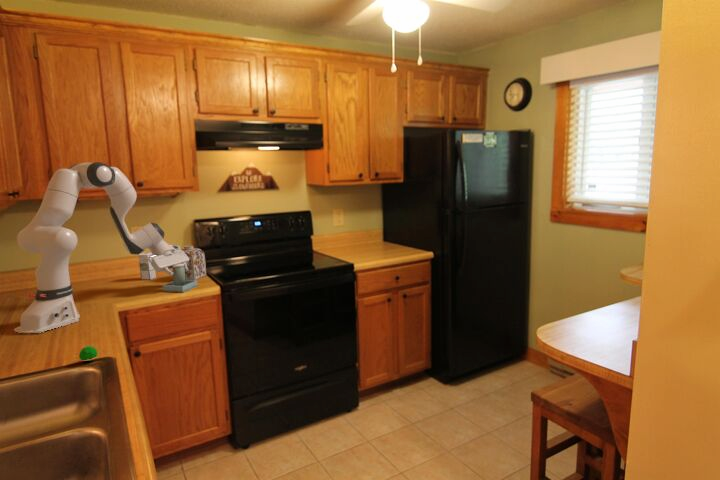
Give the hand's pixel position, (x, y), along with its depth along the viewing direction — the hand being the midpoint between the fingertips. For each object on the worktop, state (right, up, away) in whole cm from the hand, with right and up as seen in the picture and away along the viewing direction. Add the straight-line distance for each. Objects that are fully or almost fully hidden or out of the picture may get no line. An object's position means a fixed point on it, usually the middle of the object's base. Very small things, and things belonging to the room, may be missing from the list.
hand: (179, 272), depth 225 cm
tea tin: (0, -7, +1) cm, 7 cm away
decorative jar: (-3, -5, +24) cm, 25 cm away
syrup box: (-28, -5, +25) cm, 38 cm away
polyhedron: (+4, -22, -82) cm, 85 cm away
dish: (0, -8, +2) cm, 8 cm away
